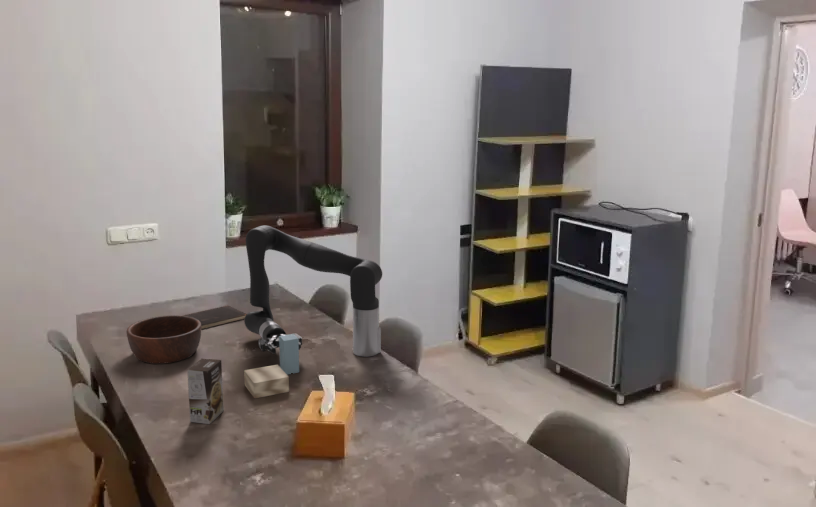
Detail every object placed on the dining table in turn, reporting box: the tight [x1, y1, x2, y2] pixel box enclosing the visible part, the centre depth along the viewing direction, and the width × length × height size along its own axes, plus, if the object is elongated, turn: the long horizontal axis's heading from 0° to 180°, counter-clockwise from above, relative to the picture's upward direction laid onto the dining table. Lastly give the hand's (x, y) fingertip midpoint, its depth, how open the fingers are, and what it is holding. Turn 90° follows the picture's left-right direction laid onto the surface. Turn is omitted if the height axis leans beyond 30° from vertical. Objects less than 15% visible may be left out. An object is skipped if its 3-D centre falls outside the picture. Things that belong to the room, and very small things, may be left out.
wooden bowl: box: [126, 314, 202, 365], centre depth 249 cm, size 25×25×10 cm
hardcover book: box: [181, 304, 248, 330], centre depth 287 cm, size 16×23×2 cm
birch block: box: [243, 363, 290, 399], centre depth 223 cm, size 11×11×5 cm
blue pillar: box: [278, 333, 300, 375], centre depth 236 cm, size 5×5×12 cm
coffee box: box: [187, 358, 225, 425], centre depth 203 cm, size 9×6×16 cm
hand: (287, 349), depth 237 cm, fingers open, 8 cm apart
